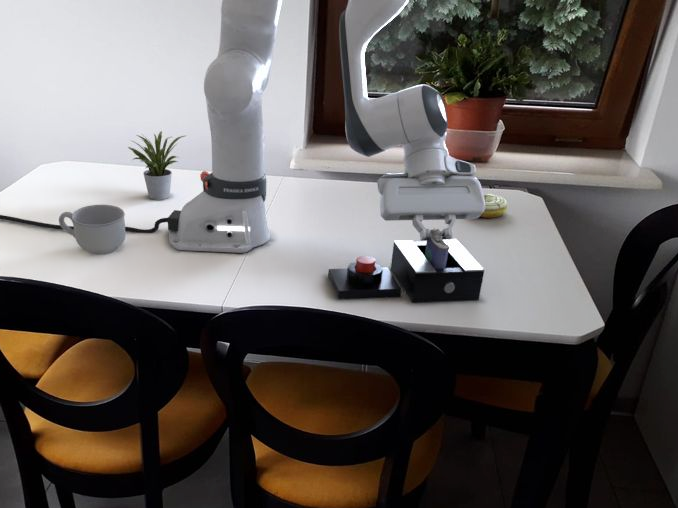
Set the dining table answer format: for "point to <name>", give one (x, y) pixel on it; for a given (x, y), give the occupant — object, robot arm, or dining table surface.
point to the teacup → (96, 227)
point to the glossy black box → (436, 273)
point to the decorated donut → (494, 206)
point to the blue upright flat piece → (436, 249)
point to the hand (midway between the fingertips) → (436, 239)
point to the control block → (364, 283)
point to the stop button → (365, 264)
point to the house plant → (157, 167)
